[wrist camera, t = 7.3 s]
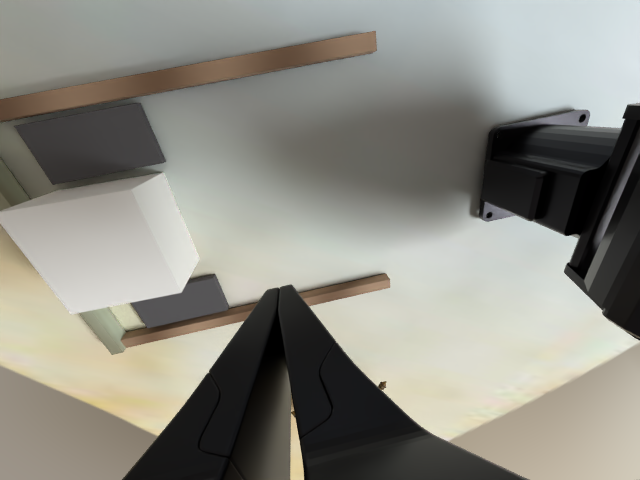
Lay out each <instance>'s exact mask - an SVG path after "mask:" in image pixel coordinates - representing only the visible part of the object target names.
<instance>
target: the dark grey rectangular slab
mask: <svg viewBox="0 0 640 480" xmlns="http://www.w3.org/2000/svg"><path fill="white" fill-rule="evenodd" d="M14 127H15V128H16V130H17V131H18V133H19V134H20V136H21V137H22V139H23V140H24V142H25V143H26V145H27V146H28V148H29V149H30V151H31V152H32V154H33V155H34V157H35V158H36V160H37V162H38V163H39V165H40V166H41V168H42V169H43V171H44V172H45V174H46V175H47V177H48V178H49V180H50V181H51V183H52V184H53V185H54V184H59V183H64V182H69V181H74V180H79V179H84V178H89V177H94V176H99V175H104V174H109V173H114V172H120V171H125V170H130V169H135V168H140V167H145V166H150V165H155V164H160V163H164V162H166V160H165V158H164V156H163V153H162V151H161V149H160V146H159V144H158V142H157V139H156V137H155V135H154V133H153V130H152V128H151V126H150V123H149V121H148V119H147V116H146V114H145V112H144V110H143V107H142V105H141V103H134V104H129V105H124V106H118V107H113V108H108V109H102V110H97V111H92V112H86V113H81V114H76V115H70V116H65V117H60V118H54V119H49V120H44V121H38V122H33V123H28V124H22V125H17V126H14ZM131 304H132V305H133V307H134V308H135V310H136V311H137V313H138V314H139V316H140V317H141V319H142V321H143V322H144V324H145V325H146V327H147V328H151V327H156V326H160V325H165V324H169V323H173V322H178V321H182V320H187V319H191V318H196V317H200V316H204V315H209V314H213V313H218V312H222V311H226V310H228V308H229V305H228V302H227V300H226V298H225V295H224V293H223V291H222V289H221V286H220V284H219V282H218V279H217V277H216V275H215V274H214V275H209V276H204V277H200V278H195V279H191V280H188V281H187V283H186V285H185V287H184V289H183V291H182V293H177V294H172V295H167V296H162V297H157V298H152V299H147V300H142V301H137V302H132V303H131Z"/></svg>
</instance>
